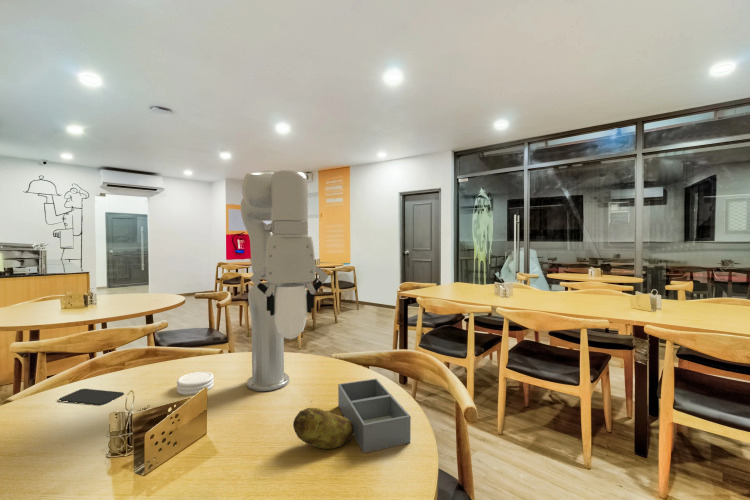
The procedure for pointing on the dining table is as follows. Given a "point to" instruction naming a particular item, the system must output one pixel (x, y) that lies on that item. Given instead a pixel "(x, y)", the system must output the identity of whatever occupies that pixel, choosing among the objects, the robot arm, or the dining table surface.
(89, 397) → the phone
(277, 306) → the cup
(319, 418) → the potato
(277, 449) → the dining table surface
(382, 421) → the divided open storage box
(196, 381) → the coaster
